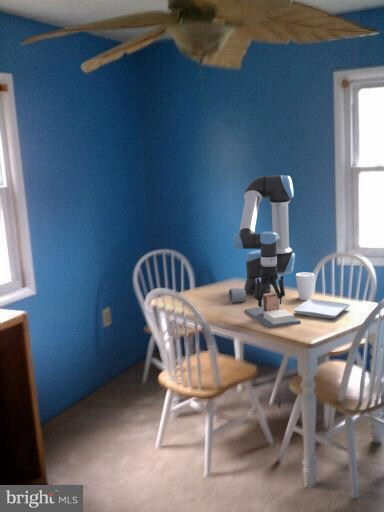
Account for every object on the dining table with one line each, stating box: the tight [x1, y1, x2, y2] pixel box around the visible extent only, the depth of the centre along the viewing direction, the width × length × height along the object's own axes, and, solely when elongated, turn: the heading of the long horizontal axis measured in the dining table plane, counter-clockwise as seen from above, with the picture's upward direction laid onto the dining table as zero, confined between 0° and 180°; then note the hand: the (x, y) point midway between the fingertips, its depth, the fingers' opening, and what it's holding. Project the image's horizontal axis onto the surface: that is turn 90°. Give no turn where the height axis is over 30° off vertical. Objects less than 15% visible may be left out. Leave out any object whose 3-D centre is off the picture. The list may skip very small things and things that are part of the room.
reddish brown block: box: [262, 292, 277, 311], centre depth 252 cm, size 6×5×9 cm
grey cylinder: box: [228, 287, 247, 304], centre depth 281 cm, size 11×8×8 cm
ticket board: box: [243, 306, 302, 329], centre depth 251 cm, size 28×16×4 cm, turn 16°
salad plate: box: [292, 298, 351, 320], centre depth 255 cm, size 21×21×3 cm
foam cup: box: [295, 271, 315, 301], centre depth 280 cm, size 10×9×13 cm
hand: (269, 312), depth 253 cm, fingers open, 8 cm apart
